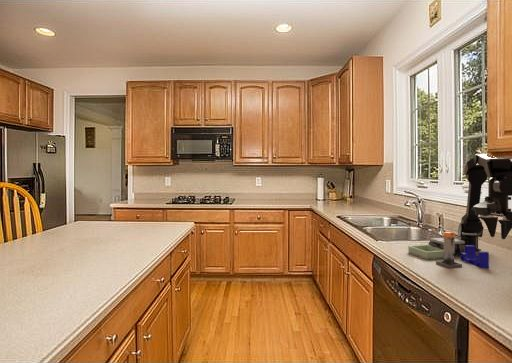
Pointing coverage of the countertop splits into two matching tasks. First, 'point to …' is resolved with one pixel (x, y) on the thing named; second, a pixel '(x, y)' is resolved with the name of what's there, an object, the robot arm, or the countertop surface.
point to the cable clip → (475, 257)
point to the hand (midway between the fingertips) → (497, 238)
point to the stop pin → (449, 247)
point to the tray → (426, 252)
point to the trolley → (440, 244)
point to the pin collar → (449, 265)
